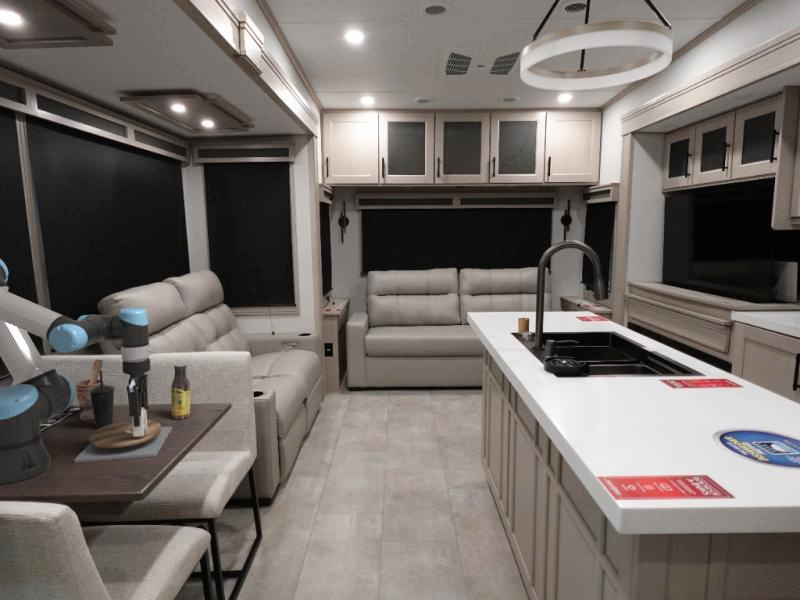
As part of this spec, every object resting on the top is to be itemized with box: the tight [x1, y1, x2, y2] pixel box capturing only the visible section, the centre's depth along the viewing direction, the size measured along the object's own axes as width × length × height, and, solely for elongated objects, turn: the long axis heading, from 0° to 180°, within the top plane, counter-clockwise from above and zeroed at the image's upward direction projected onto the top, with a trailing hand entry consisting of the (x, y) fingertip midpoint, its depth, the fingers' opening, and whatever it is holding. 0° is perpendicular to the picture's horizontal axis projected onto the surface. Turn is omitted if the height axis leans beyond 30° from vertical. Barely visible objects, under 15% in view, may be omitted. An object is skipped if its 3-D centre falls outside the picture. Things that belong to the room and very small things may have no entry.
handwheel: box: [89, 407, 162, 448], centre depth 158 cm, size 20×20×12 cm
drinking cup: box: [89, 370, 116, 430], centre depth 172 cm, size 8×8×20 cm
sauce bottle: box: [170, 362, 191, 420], centre depth 182 cm, size 6×6×20 cm
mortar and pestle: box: [75, 359, 105, 422], centre depth 182 cm, size 12×9×20 cm
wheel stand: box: [73, 426, 173, 464], centre depth 159 cm, size 22×22×1 cm
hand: (140, 433), depth 154 cm, fingers open, 3 cm apart
